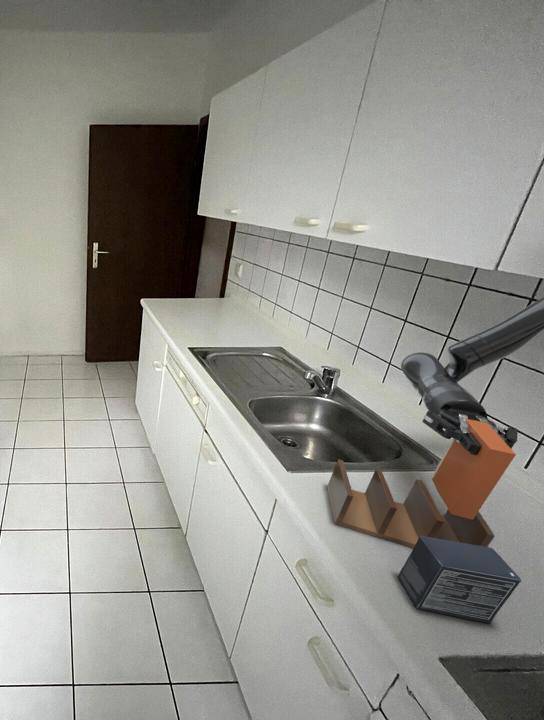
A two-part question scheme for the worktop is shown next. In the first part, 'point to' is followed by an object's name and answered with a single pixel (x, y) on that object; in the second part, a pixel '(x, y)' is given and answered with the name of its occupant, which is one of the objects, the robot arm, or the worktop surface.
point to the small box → (457, 579)
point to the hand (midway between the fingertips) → (491, 453)
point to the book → (471, 471)
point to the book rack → (399, 513)
